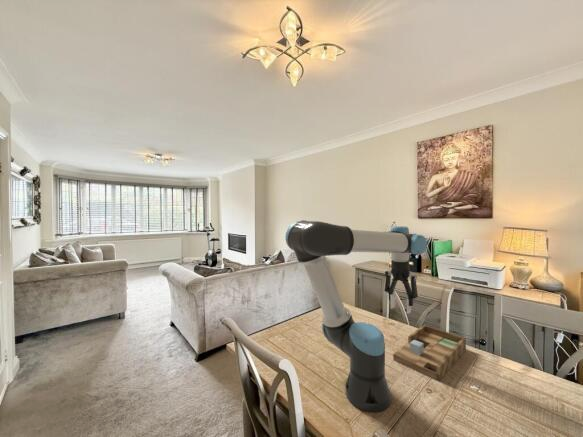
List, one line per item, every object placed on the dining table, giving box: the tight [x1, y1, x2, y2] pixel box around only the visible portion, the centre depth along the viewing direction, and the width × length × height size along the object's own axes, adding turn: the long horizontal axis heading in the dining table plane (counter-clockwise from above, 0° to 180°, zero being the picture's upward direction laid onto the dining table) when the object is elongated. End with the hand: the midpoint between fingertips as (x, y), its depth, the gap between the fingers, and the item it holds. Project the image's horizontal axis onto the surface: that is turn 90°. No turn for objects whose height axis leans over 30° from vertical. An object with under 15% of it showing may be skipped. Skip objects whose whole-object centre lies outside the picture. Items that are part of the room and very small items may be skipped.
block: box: [410, 340, 424, 356], centre depth 106 cm, size 4×4×4 cm
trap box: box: [392, 324, 467, 382], centre depth 109 cm, size 32×18×6 cm, turn 130°
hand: (400, 310), depth 112 cm, fingers open, 7 cm apart
